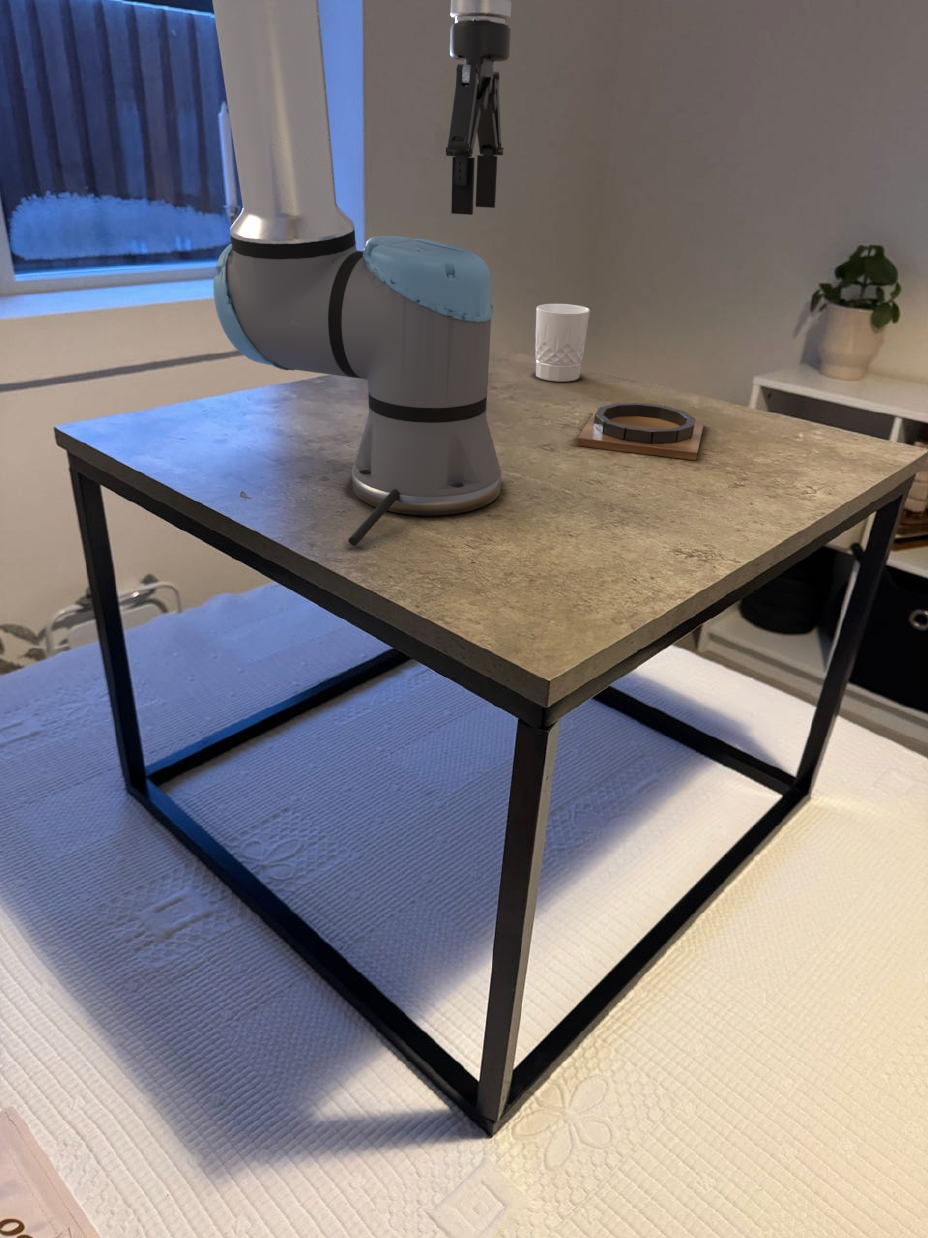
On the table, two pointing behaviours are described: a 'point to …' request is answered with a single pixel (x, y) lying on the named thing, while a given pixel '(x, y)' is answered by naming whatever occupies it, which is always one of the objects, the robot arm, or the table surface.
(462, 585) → the table surface
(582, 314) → the white cup
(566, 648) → the table surface
